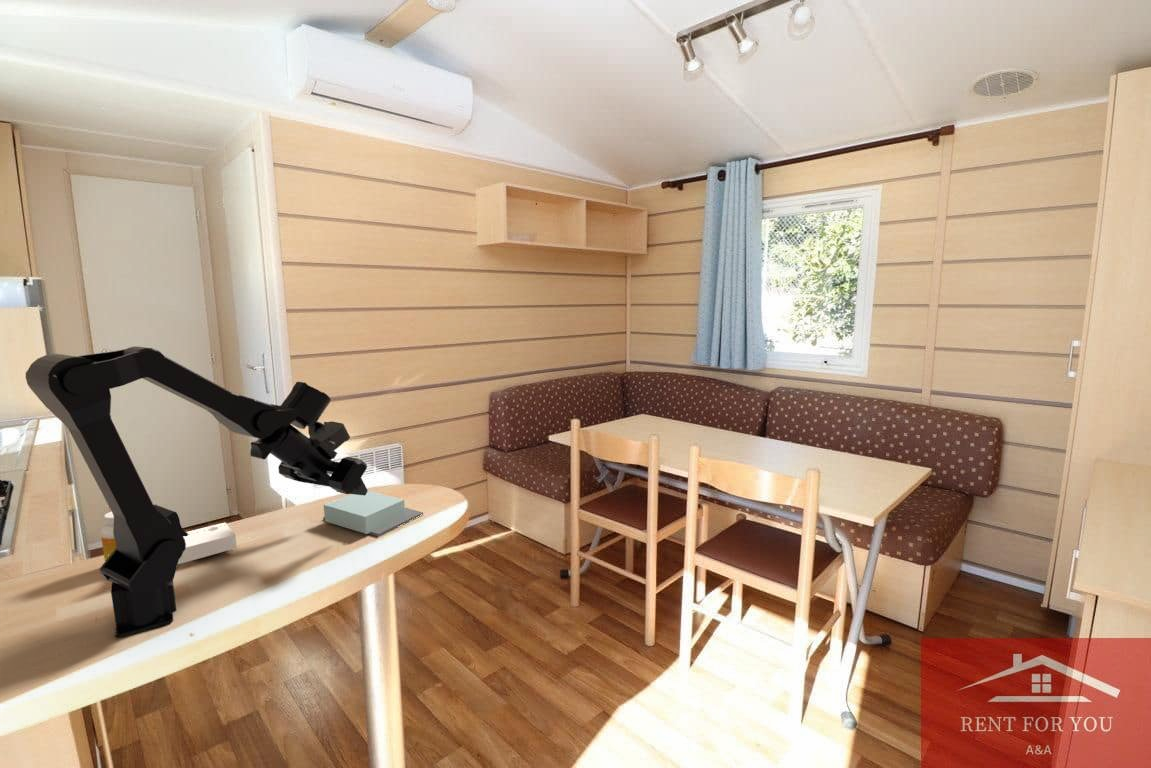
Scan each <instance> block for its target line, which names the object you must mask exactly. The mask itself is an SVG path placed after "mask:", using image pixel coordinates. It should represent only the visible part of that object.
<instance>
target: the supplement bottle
mask: <svg viewBox="0 0 1151 768" xmlns="http://www.w3.org/2000/svg"><path fill="white" fill-rule="evenodd" d="M103 519H104V520H103V521H104V525H106V526H104V527H103V528H102V530H101V532H100V535H101V536H100V537H101V544H102V549H103V551H102V553H103V557H104V562H105V561H106V560H107V559H108V558H109V556H110V555H111V554H112V553H113V551H114V550H115V549H116V548H117V546H116V542H115V538H114V534H113V527H114V516H113V513H112V511H111V510H110V511H109V512H107V513H105V514H104V515H103ZM108 555H109V556H108Z"/></svg>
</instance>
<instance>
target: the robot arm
mask: <svg viewBox="0 0 1151 768" xmlns="http://www.w3.org/2000/svg"><path fill="white" fill-rule="evenodd" d="M141 379H142V380H145V381H147V382H149V383H151V384H153V385H154V386H157V387H158V388H161V389H163V390H165V391H167V392H169V393H171V394H173V395H175V396H177V397H179V398H181V399H183V400H185V401H187V402H190V403H191V404H193V405H196V406H197V407H200V408H201V409H202V410H205V411H207V412H208V413H210V414H211V415H212V416H213V417H214V418H215V419H216V421H217V422H218V423H219V424H221V425H223V426H224V427H226V428H227V429H228V430H230V431H231V432H233V434H238V435H241V436H247V437H251V438H256V439H257V440H255V441H251V442H250V447H251V448H250V451H249V452H250V454H249V455H250V457H251V458H253V457H254V458H257V459H260V460H266V459H267V458H268V457H269V456H270V455H272V456H273V457H275V458H276V459H278V460H279V461H280V464H279V465H278V468H277V469H278V473H279V474H280V475H281V476H283V477H284V478H286V479H289V480H292V481H296V482H300V483H306V484H311V485H312V484H313V485H318V486H323V487H329V488H330V489H332V490H334V491H336V492H337V493H340V494H345V495H350V494H354V495H364V496H365V495H366V493H367V492H368V491H369V490H368V488H367V486H366V484H365V482H364V481H363V479H362V477H363V475H364V473H365V472H366V470H367V468H368V465H367V462H365V461H363V460H362V459H360V458H355V457H351V456H345V457H342V458H341V459H340V461H333V460H334V459H335V458H336V456H337V455H338V453H337V451H335V450H337V449H338V448H339V447H341V446H342V445H343V444H344V443H345V442H348V441H349V440H350V439H351V436H350V433H349V432H348V430H347V428H346V426H345V424H344V423H342V422H337V421H332V420H331V421H324V422H323V423H322V422H320V421H319V419H320V418H321V416H322V415H323V413H324V412H325V410H326V409H327V408H328V406H329V404H330V403H331V401H332V399H331V397H330V396H329V395H328V394H327V393H325V392H323V391H320V390H319V389H317V388H315V387H313V386H311V385H310V384H308V383H306V381H305V382H304V381H296V382H295V384H294V385H293V386H292V389H291V390H290V392H289V394H288V395H287V396H286V398H285V399H284V400H283V402H282V403H281V404H280V405H277V404H272V403H268V402H264V401H261V400H258V399H254V398H250V397H248V396H244V395H241V394H237V393H234V392H232V391H229V390H228V389H226V388H225V387H222V386H220V385H218V384H216V383H215V382H214V381H211V380H209V379H208V378H206V377H204V376H202V375H201V374H198V373H196V372H195V371H193V370H192V369H189V368H187V367H186V366H184V365H182V364H180V363H178V362H176V361H174V360H173V359H171V358H169V357H167V356H165V355H164V354H163V353H162V352H161V351H160V350H158V349H157V348H152V347H146V346H135V345H134V346H130V347H128V348H123V349H118V350H113V351H112V350H111V351H105V352H98V353H97V352H96V353H90V354H83V355H77V356H75V355H69V354H63V353H62V354H60V353H50V354H46V355H43V356H40V357H38V358H37V359H36V360H34V361H33V362H32V363H31V364H30V365H29V367H28V369H27V370H26V372H25V380H26V384H27V387H29V389H30V390H31V392H32V393H34V395H35V396H36V397H37V398H38V399H39V401H41V402H42V403H41V404H43V405H44V406H45V408H46V409H48V410H49V411H50V412H51V413H52V414H53V416H55V417H56V418H57V419H59V421H61V423H63V425H65V427H66V428H67V429H68V431H69V433H70V435H71V437H72V439H73V441H74V442H75V445H76V446H77V449H78V450H79V452H80V454H81V456H82V458H83V459H84V462H85V463H86V465H87V467H88V469H89V471H90V474H92V477H93V478H94V481H95V482H96V484H97V486H98V489H100V491H101V493H102V494H101V495H102V496H103V498H104V499H105V500H104V501H106V504H107V506H108V508H109V509H110V512H111V511H112V513H113V516H114V527H113V534H114V538H115V542H116V546H117V548H116V549H115V550H114V551H113V553H112V554H111V555H110V556H109V558H108V559H107V560H106V561H105V560H104V562H103V564H102V565H101V566H100V568H99V572H100V573H101V575H102V576H103V577H104V579H105V580H106V581H107V582H108V581H110V582H112V583H111V589H110V594H111V603H112V610H113V615H114V622H115V628H114V638H116V639H117V638H121V637H125V636H128V635H132V634H135V633H136V634H137V633H139V632H143V631H147V630H150V629H154V628H157V627H158V628H159V627H161V626H163V625H168V624H171V623H173V622H174V613H175V612H177V601H176V593H175V584H174V579H175V575H176V571H177V569H178V565H179V564H178V561H179V559H180V558H181V556H182V554H183V552H184V551H185V549H186V543H185V539H184V537H183V536H188V533H186V532H187V531H185V530H184V529H183V527H182V525H181V521H180V516H179V515H178V513H177V512H176V511H174V510H171V509H168V508H166V507H164V506H161V505H158V504H153V501H152V500H151V497H150V496H149V493H148V492H147V490H146V487H145V485H144V484H143V481H142V479H141V477H140V475H139V472H138V471H137V468H136V466H135V464H134V462H133V461H132V459H131V457H130V454H129V452H128V450H127V448H126V447H125V443H124V442H123V440H122V438H121V436H120V433H119V431H118V430H117V428H116V426H115V424H114V422H113V420H112V415H111V408H112V394H111V391H110V389H114V388H119V387H122V386H125V385H129V384H131V383H133V382H135V381H138V380H141ZM297 428H298V429H297ZM306 428H307V429H308V432H307V433H308V435H309V437H308V436H307V435H305V434H304V433H303V432H302V431H301V430H305V429H306ZM299 429H301V430H299Z"/></svg>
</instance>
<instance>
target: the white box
mask: <svg viewBox="0 0 1151 768" xmlns="http://www.w3.org/2000/svg"><path fill="white" fill-rule="evenodd" d="M224 525H225V526H224ZM220 526H221V527H220ZM215 527H217V528H215ZM212 528H213V529H212ZM208 529H209V530H208ZM204 530H205V531H204ZM185 532H186V533H188V536H183V537H184V539H185V543H186V549H185V551H184V552H183V554H182V556H181V558H180V559H179V561H178V564H177V565H181V564H184V563H188V562H192V561H194V560H195V561H196V560H198V559H201V558H202V559H203V558H205V557H210V556H212V555H216V554H220V553H223V552H227V551H231V550H234V549H237V547H238V545H237V537H236V533H235V532H234V531H233V530H232V528H231V527H230V526H229V525H228V523H227V522H222V523H217V524H212V525H208V526H205V527H201V528H197V529H193V530H189V531H185ZM197 532H198V533H197ZM189 534H190V535H189Z"/></svg>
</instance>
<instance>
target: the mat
mask: <svg viewBox="0 0 1151 768" xmlns="http://www.w3.org/2000/svg"><path fill="white" fill-rule="evenodd" d="M421 514H423V515H424V512H423V511H419V510H415V509H412V508H409V507H405V516H403V517H401V518H399V519H397V520H395V521H393V522H391V523H389V524H386V525H384V526H382V527H380V528H378V529H376V530H374V531H372V532H370V533H367V535H371V536H375V537H378V538H379V537H381V536H384V535H386V534H388V533H390V532H392V531H393V530H392V529H394V528H396V527H398V526H400V525H402V524H404V523H406V522H408V521H410V520H412V519H414V518H416V517H418V516H420V515H421ZM420 517H421V516H420ZM418 518H419V517H418ZM322 519H325V517H324V516H323V517H322ZM416 519H417V518H416ZM414 520H415V519H414ZM412 521H413V520H412ZM410 522H411V521H410ZM408 523H409V522H408ZM406 524H407V523H406ZM404 525H405V524H404ZM402 526H403V525H402ZM400 527H401V526H400ZM398 528H399V527H398ZM396 529H397V528H396ZM391 530H392V531H391ZM394 530H395V529H394ZM389 531H390V532H389ZM387 532H388V533H387ZM385 533H386V534H385Z"/></svg>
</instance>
